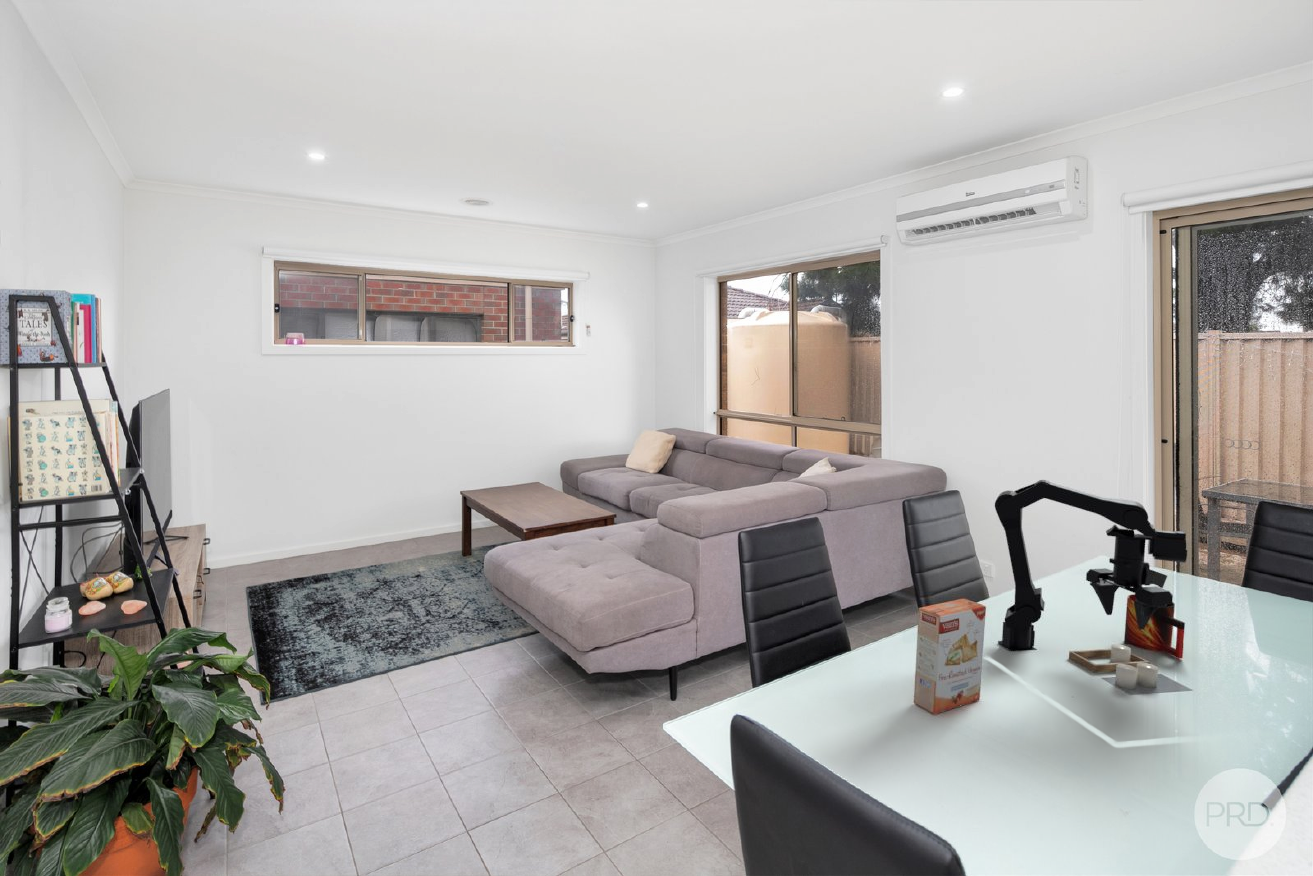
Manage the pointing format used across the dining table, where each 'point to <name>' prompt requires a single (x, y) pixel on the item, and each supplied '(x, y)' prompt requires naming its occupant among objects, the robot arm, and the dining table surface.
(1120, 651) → the pebble
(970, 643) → the cracker box
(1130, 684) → the white rounded stone
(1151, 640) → the mug
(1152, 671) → the pebble
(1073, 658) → the walnut bin
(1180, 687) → the slate board
